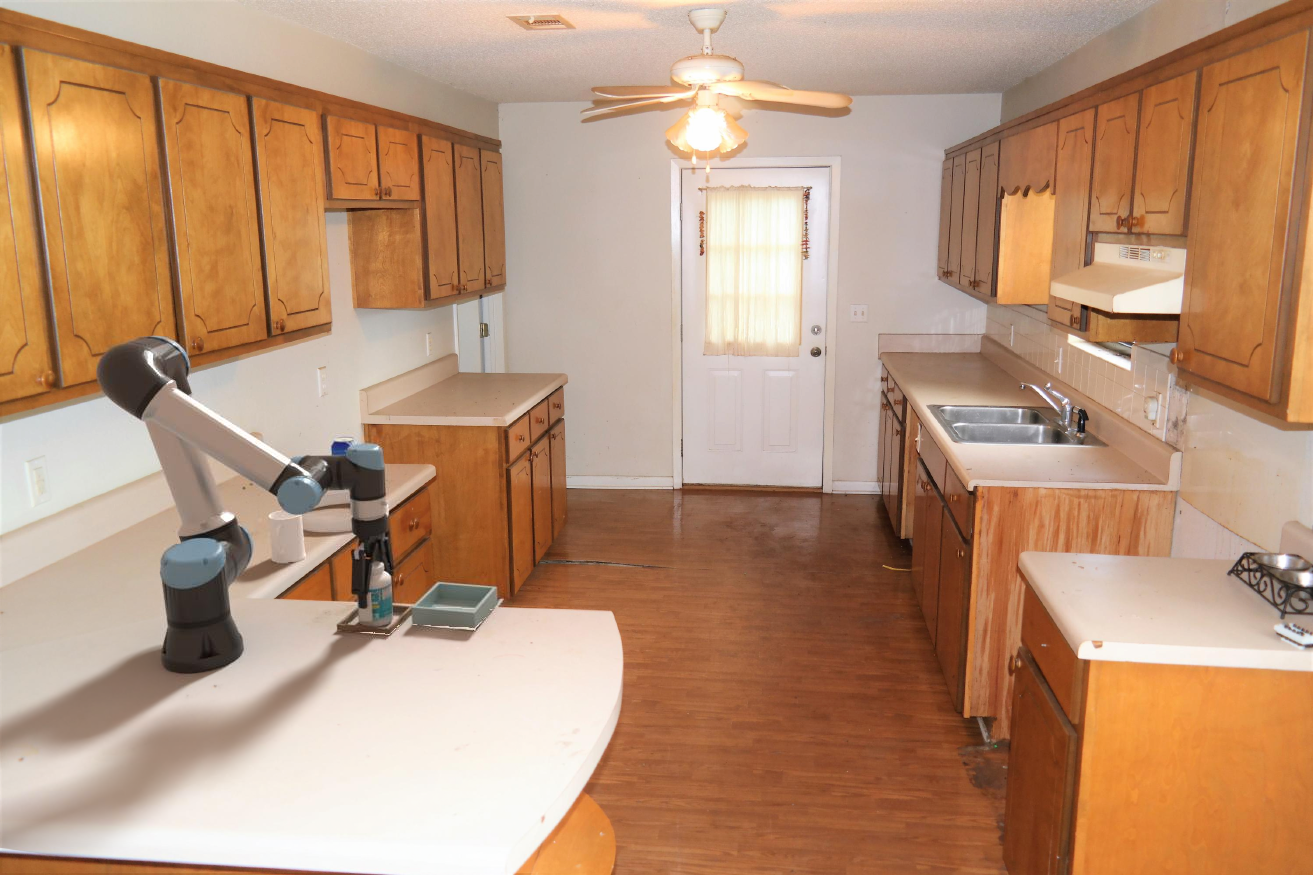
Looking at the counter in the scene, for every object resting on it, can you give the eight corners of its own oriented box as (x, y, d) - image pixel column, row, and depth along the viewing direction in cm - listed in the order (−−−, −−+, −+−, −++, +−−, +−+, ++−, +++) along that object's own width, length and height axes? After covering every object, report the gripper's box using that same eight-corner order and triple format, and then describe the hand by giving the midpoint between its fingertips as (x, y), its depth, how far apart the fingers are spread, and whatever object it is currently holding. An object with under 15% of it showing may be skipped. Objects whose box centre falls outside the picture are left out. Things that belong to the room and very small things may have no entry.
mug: (291, 569, 236) (287, 524, 233) (259, 567, 236) (254, 523, 233) (311, 552, 247) (308, 509, 244) (280, 551, 248) (276, 508, 245)
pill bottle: (351, 625, 204) (347, 568, 201) (372, 612, 211) (368, 556, 208) (380, 631, 202) (376, 573, 199) (400, 617, 209) (397, 561, 205)
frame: (389, 635, 200) (389, 629, 199) (337, 630, 202) (336, 624, 201) (413, 612, 211) (413, 606, 211) (363, 607, 213) (363, 601, 213)
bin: (475, 630, 202) (474, 612, 201) (412, 625, 205) (411, 607, 204) (497, 603, 216) (497, 586, 215) (438, 598, 219) (437, 581, 218)
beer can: (329, 488, 303) (325, 441, 300) (341, 481, 311) (338, 435, 308) (353, 490, 302) (349, 442, 298) (365, 482, 310) (362, 436, 306)
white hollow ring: (335, 539, 258) (333, 521, 256) (273, 521, 272) (272, 504, 270) (408, 514, 280) (407, 496, 279) (347, 498, 294) (346, 482, 293)
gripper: (362, 532, 190) (369, 633, 195) (406, 501, 210) (411, 594, 215) (328, 529, 191) (336, 630, 196) (375, 499, 211) (381, 591, 217)
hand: (375, 611), depth 206 cm, fingers open, 8 cm apart
